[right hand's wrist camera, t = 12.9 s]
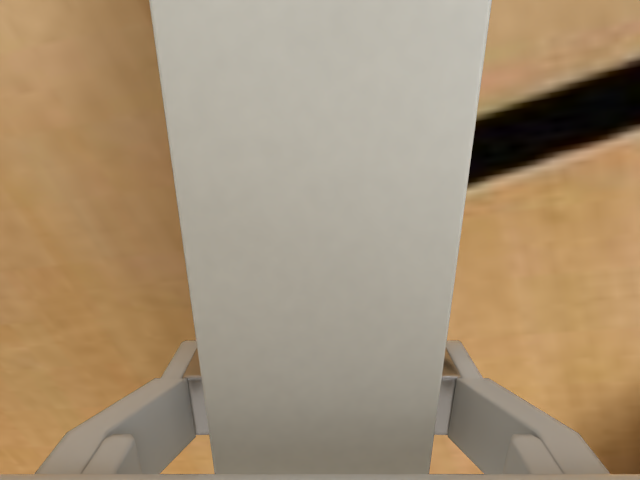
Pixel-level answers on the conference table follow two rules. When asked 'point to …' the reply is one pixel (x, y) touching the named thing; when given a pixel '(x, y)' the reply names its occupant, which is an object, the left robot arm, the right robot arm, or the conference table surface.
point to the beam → (321, 218)
